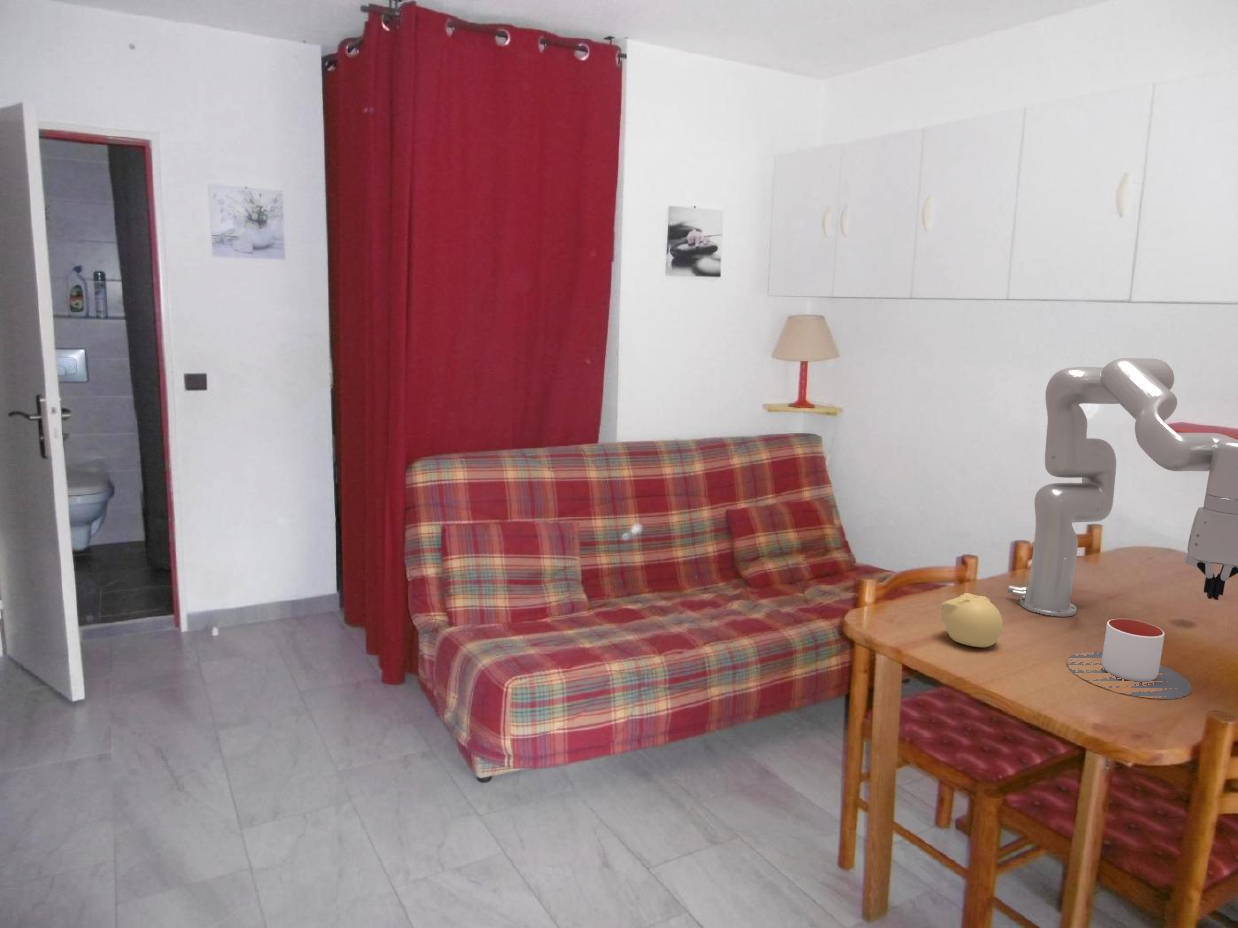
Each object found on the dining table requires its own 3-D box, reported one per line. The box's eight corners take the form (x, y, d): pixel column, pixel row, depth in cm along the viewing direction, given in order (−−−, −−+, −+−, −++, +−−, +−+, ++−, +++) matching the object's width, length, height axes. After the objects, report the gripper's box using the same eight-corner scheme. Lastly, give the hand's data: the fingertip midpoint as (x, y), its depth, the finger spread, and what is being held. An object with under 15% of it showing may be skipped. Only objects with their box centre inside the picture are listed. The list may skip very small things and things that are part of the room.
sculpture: (970, 628, 195) (975, 584, 193) (1011, 649, 184) (1017, 602, 182) (930, 634, 191) (935, 589, 188) (970, 655, 180) (975, 607, 178)
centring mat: (1063, 680, 168) (1063, 680, 168) (1069, 644, 187) (1069, 643, 187) (1195, 710, 157) (1195, 709, 157) (1187, 668, 176) (1188, 667, 176)
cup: (1107, 659, 179) (1114, 614, 177) (1162, 674, 172) (1169, 627, 171) (1094, 673, 172) (1101, 626, 170) (1150, 689, 165) (1158, 641, 163)
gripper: (1274, 507, 159) (1257, 599, 162) (1180, 495, 166) (1165, 584, 170) (1280, 515, 152) (1262, 611, 156) (1182, 503, 160) (1167, 595, 163)
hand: (1212, 597), depth 163 cm, fingers closed
